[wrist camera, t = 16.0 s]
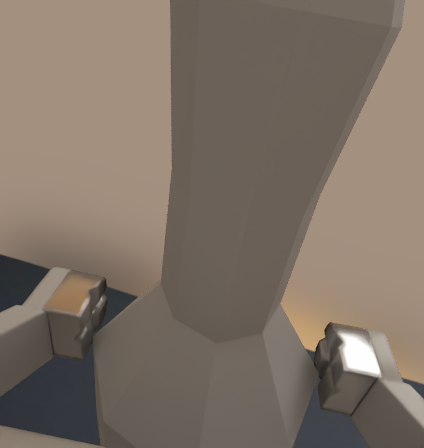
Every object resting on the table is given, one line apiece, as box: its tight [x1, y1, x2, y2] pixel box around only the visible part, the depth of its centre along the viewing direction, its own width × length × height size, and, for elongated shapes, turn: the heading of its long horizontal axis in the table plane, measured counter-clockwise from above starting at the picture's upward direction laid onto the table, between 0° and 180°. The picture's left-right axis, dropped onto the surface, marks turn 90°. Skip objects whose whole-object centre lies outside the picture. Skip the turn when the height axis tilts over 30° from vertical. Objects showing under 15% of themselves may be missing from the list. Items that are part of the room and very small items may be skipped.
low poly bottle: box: [93, 0, 405, 448], centre depth 10 cm, size 6×6×22 cm
